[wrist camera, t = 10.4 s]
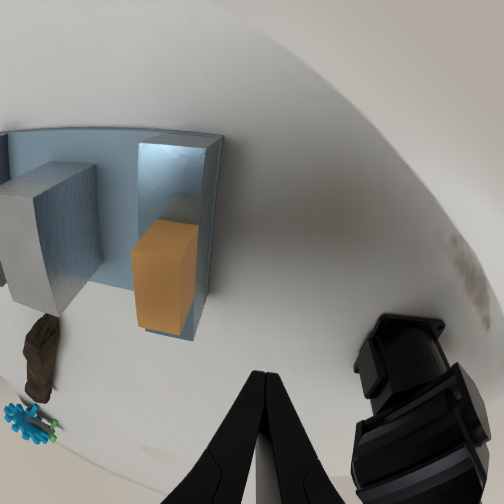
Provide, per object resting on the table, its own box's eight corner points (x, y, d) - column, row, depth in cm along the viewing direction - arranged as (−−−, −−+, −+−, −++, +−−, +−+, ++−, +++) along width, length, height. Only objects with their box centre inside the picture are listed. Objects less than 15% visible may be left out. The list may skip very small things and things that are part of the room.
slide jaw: (219, 138, 15) (185, 164, 9) (203, 307, 20) (181, 380, 15) (163, 133, 15) (104, 158, 9) (161, 299, 20) (128, 367, 15)
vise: (223, 135, 16) (205, 148, 12) (207, 295, 21) (193, 341, 17) (-5, 132, 16) (-45, 147, 12) (11, 252, 21) (-18, 278, 17)
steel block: (96, 163, 16) (32, 198, 11) (103, 262, 19) (59, 317, 14) (49, 161, 16) (-15, 193, 11) (60, 253, 19) (13, 300, 14)
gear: (6, 399, 37) (-1, 426, 28) (16, 378, 39) (9, 403, 30) (52, 428, 42) (54, 457, 33) (63, 409, 44) (66, 437, 35)
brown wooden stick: (55, 388, 32) (42, 412, 28) (33, 372, 31) (18, 395, 27) (79, 320, 25) (56, 355, 20) (47, 296, 24) (21, 327, 19)
